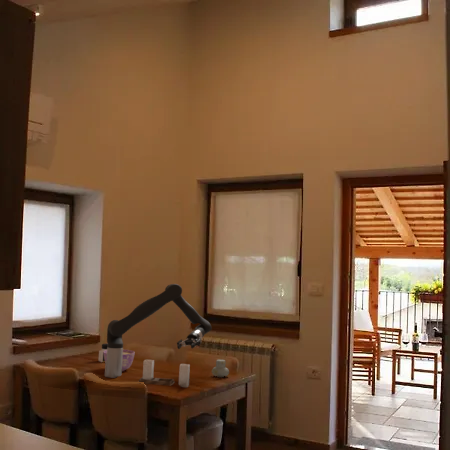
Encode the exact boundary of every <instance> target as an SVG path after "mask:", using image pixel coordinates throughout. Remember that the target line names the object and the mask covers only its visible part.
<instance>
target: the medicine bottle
mask: <svg viewBox="0 0 450 450" xmlns="http://www.w3.org/2000/svg"><path fill="white" fill-rule="evenodd" d="M107 347H108V344H107V343H103V344H101V349H100V350H98V362H100V363H102V362H105V359H104V353H103V351H105V350H107Z"/></svg>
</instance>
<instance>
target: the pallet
mask: <svg viewBox="0 0 450 450" xmlns="http://www.w3.org/2000/svg"><path fill="white" fill-rule="evenodd" d="M138 382H144V383H145V385H154V386H155V385H157V386H159V385H160V386H173V385H174V384H175V383H176V381H175V379H174V378H164V377H163V378H162V377H153V381H151V380H143V376H142V377H140V379H138Z"/></svg>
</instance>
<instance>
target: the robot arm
mask: <svg viewBox="0 0 450 450" xmlns="http://www.w3.org/2000/svg"><path fill="white" fill-rule="evenodd" d="M182 293H183V288H182V286H181V285H179V284H177V283H171V284H167V286H166V287H165V289H164V291H162V292H161V293H159V294H158V295H155V296H153V297H150V298H149V299H147V300H144V301H143V302H141V303H140V304H139V305H137V306H136V307H134V308H133V310H132V311H131V312H130V313H129V314H128V315H127V316H125V317H123V318H122V319H119V320H118V319H114V320H111V321H109V323H108V325H107V330H106V331H107V332H106V334H107V335H106V342H107V343H106V344H108V347H107V360H106V361H105V363H104V364H105V366H104V377H105V378H112V379H113V378H114V379H116V378H119V377H121V376H122V372H123V371H122V356H123V350H124V342H123V341H124V340H123V335H124V334H125V333H127V332H128V331H129V330H130V329H132V328H133V327H134V326H136V325H138V324H139V323H141V322H142V321H144V320H146V319H147V318H149V317H150V316H152V315H154V314H155V313H156V312H158V311H159V310H160V309H162V308H163V307H164V306H165V305H167V304H169V303H170V302H173V303H174V304H175V305H176V306H177V308H179V309H180V311H181V312H182V313H183V314H184V316H186V318H187V319H188V320H189V322H190V323H191V324H193V325H196V324H198V325H197V326H196V327H195V328H194V330H192V331H191V332H189V334H188V335H187V336H186V339H184V340H183V339H180V340H179V341H177V342H176V346H177V349H178V350H180V349H181V348H182V347H184V348H185V347H188V346H190V348H191V349H194V348H196V347H197V346H198V347H199V346H200V345H201V344H202V343H203V341H202V339H203V338H204V336H205V335H206V334H208V333H210V332H211V331H212V328H213V327H212V325H211V323H210V322H209V321H208V320H207V319H205V318H203V316H201V315H200V314H199V312H198V311H197V310H196V309H195V308H194V307H193V306H192V305H191V304H190V303H189V302H188V301H186V299H185V298H184V297H183V295H182Z"/></svg>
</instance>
